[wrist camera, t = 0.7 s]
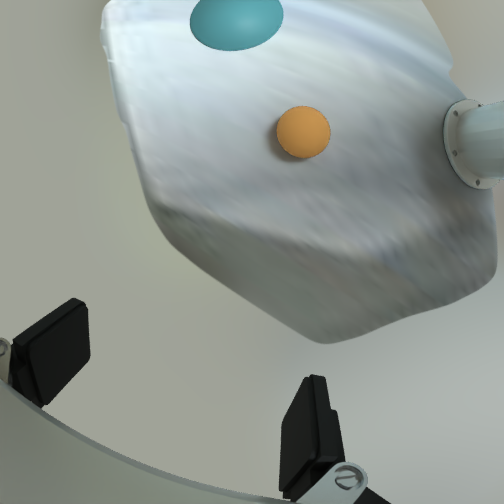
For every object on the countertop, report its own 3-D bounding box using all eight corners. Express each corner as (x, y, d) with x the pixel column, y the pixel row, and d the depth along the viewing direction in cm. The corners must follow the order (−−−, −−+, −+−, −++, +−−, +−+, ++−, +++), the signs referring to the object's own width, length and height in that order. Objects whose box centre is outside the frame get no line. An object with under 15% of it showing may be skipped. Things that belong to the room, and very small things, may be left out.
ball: (313, 106, 29) (320, 92, 23) (333, 149, 30) (344, 143, 25) (268, 123, 30) (266, 112, 24) (288, 167, 31) (291, 164, 26)
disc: (259, -24, 24) (259, -25, 24) (299, 31, 26) (299, 31, 26) (178, 6, 26) (178, 6, 26) (209, 65, 28) (209, 64, 28)
